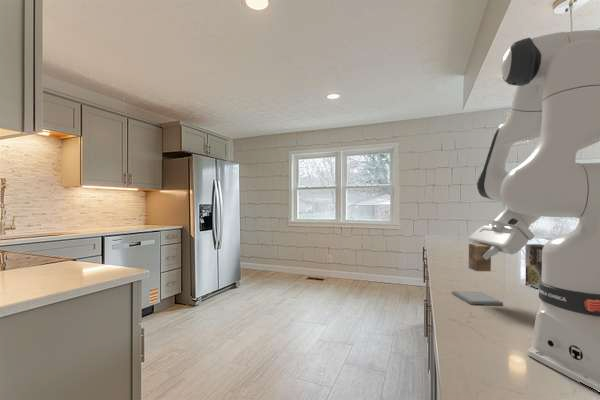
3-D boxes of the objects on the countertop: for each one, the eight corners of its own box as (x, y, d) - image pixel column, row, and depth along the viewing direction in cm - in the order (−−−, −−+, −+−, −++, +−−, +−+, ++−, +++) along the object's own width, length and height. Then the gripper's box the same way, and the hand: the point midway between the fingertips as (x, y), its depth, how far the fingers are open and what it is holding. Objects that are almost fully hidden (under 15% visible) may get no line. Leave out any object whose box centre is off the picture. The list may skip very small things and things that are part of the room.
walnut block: (491, 271, 94) (491, 246, 94) (476, 271, 94) (476, 245, 94) (482, 268, 99) (482, 243, 99) (468, 267, 99) (468, 243, 99)
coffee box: (561, 292, 107) (561, 247, 107) (543, 291, 107) (543, 246, 107) (541, 285, 116) (541, 243, 116) (524, 284, 116) (524, 243, 116)
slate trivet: (502, 305, 91) (502, 302, 91) (470, 304, 91) (470, 301, 91) (480, 294, 102) (480, 291, 102) (451, 293, 102) (451, 290, 102)
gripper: (481, 218, 107) (454, 244, 107) (524, 221, 87) (490, 254, 86) (493, 230, 107) (466, 257, 107) (539, 237, 87) (505, 270, 86)
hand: (477, 256), depth 97 cm, fingers closed on walnut block, 4 cm apart
